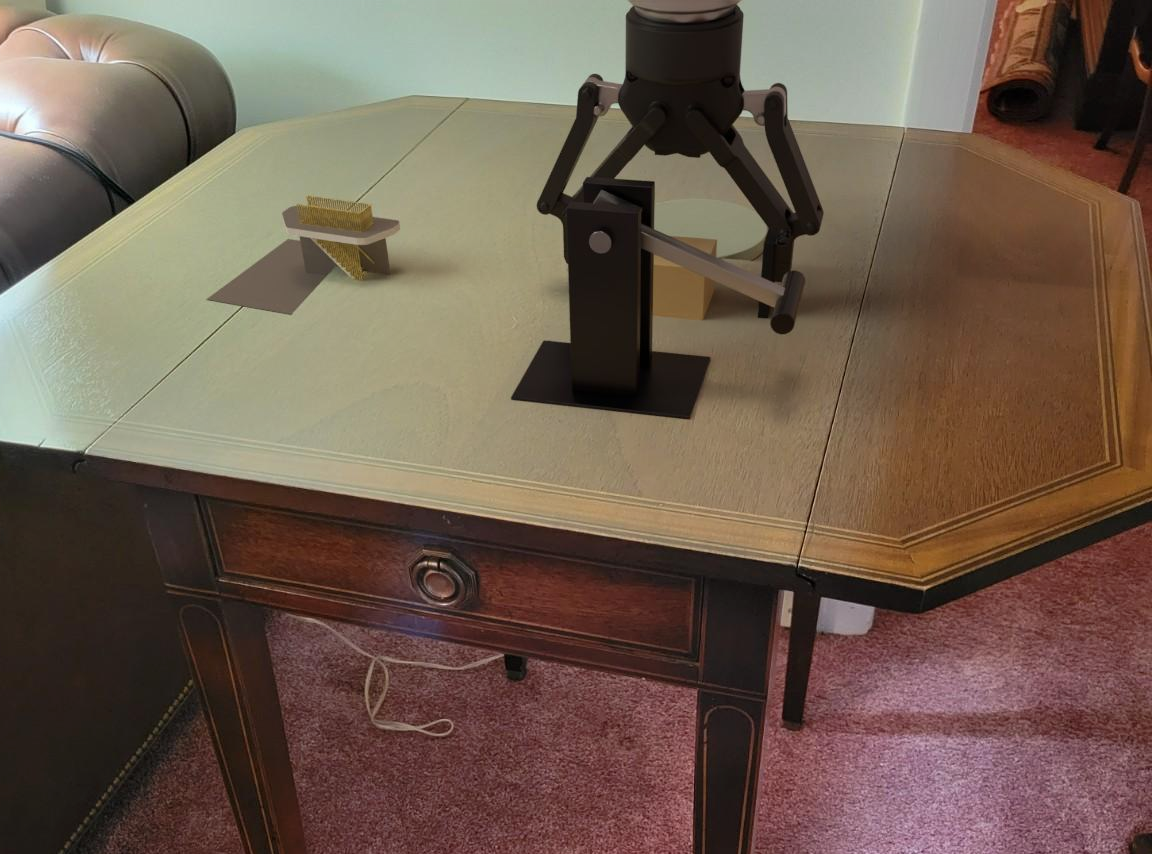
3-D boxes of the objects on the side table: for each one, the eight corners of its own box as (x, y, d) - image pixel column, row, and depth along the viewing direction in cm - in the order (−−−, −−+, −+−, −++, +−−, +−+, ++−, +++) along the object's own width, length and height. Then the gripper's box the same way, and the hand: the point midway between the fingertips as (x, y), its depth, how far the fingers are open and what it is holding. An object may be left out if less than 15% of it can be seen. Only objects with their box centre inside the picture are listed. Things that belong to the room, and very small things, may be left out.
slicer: (709, 371, 85) (720, 175, 76) (688, 432, 79) (697, 228, 70) (544, 354, 87) (534, 163, 78) (511, 412, 81) (498, 213, 72)
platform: (406, 334, 90) (395, 251, 86) (206, 299, 96) (186, 219, 92) (476, 267, 99) (469, 188, 94) (288, 238, 104) (273, 162, 100)
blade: (796, 300, 78) (812, 269, 77) (784, 345, 74) (801, 312, 72) (596, 211, 78) (608, 177, 77) (572, 250, 74) (585, 215, 72)
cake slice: (714, 301, 93) (717, 239, 89) (702, 332, 89) (705, 268, 86) (649, 296, 94) (650, 233, 90) (635, 326, 90) (636, 262, 87)
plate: (775, 217, 104) (776, 203, 103) (755, 278, 95) (756, 264, 94) (638, 207, 107) (638, 193, 106) (606, 266, 98) (606, 252, 97)
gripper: (888, -4, 77) (847, 303, 91) (514, -17, 83) (529, 274, 97) (880, 30, 72) (838, 352, 86) (481, 14, 77) (501, 318, 91)
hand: (674, 311), depth 91 cm, fingers open, 13 cm apart
